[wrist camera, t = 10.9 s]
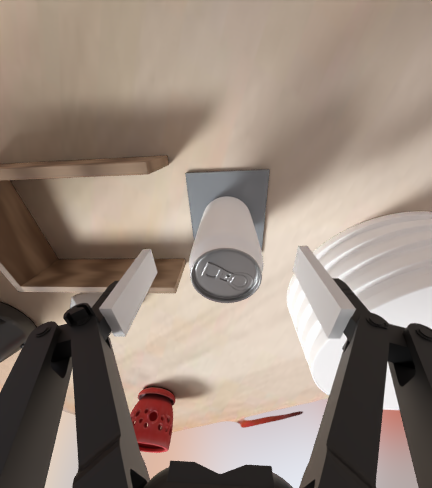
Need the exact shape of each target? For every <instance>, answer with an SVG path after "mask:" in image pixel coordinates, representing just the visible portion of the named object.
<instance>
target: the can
mask: <svg viewBox="0 0 432 488" xmlns="http://www.w3.org/2000/svg"><path fill="white" fill-rule="evenodd" d="M189 267H190V271H191V272H190V278H191V282H192V284H193V286H194V288H195V289H196V290H197V292H198V293H200V294H201V295H202V296H204V297H205V298H207V299H209V300H212V301H215V302H221V303H233V302H238V301H242V300H244V299H246V298H248V297H250V296H251V295H252V294H254V293H255V292H256V290H257V289H258V288H259V286H260V283H261V279H262V271H263V256H262V252H261V248H260V245H259V241H258V238H257V234H256V231H255V227H254V224H253V221H252V217H251V214H250V211H249V209H248V207H247V206H246V205H245V204H244V203H243V202H242V201H241V200H239V199H237V198H234V197H230V196H224V197H219V198H217V199H215V200H213V201H212V202H210V203H209V204H208V206H207V207H206V209H205V211H204V213H203V216H202V219H201V222H200V225H199V228H198V231H197V234H196V237H195V241H194V244H193V247H192V250H191V254H190V259H189Z"/></svg>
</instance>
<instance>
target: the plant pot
mask: <svg viewBox="0 0 432 488" xmlns="http://www.w3.org/2000/svg"><path fill="white" fill-rule="evenodd" d="M138 399H139V401H138V403H137V404H136V405H135V407H134V409H133V410H132V412H131V414H130V416H131V420H132V424H133V427H134V431H135V435H136V439H137V442H138V446H139V450H140V451H144V452H154V453H160V452H166V451H168V449H169V445H170V439H171V434H172V426H173V409H172V405H174V403H175V397H174V395H173V394H172V393H171V392H170V391H168V390H165V389H162V388H157V387H151V388H146V389H144V390H142V391H141V392H140V393H139V395H138ZM135 421H136V422H135ZM134 422H135V424H134ZM147 423H148V427H147ZM161 426H162V428H161Z"/></svg>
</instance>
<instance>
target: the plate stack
mask: <svg viewBox="0 0 432 488" xmlns="http://www.w3.org/2000/svg"><path fill="white" fill-rule="evenodd" d="M312 253H313V254H314V255H315V256H316V258H317V259H318V260H319V262H320V263H321V264H322V266H323V267H324V268H325V269H326V271H327V272H328V273H329V275H330V276H331V277H332V278H339V279H340V280H342V281H343V282H345V283H346V284H347V285H348V286H349V288H350V289H351V290H352V291H353V292H354V294H355V295H356V296H357V297H358V298H359V300H360V301H361V302H362V303H363V304H364V305H365V307H366V308H367V309H368V310H369V311H370V312H371V313H374V314H377V315H379V316H380V317H382V318H383V319H385V320H386V321H387V322H388V323H389V324H392V325H396V326H400V327H404V328H407V326H408V325H409V324H410V323H418V324H422V325H424V326H427V327H429V328H431V329H432V212H428V211H412V212H402V213H395V214H390V215H385V216H381V217H377V218H374V219H371V220H368V221H365V222H362V223H360V224H357V225H355V226H352V227H350V228H348V229H346V230H344V231H342V232H340V233H339V234H337V235H335V236H333V237H332V238H330V239H329V240H327V241H326V242H324V243H323V244H322V245H320V246H319V247H318V248H316V249H315V250H314V251H313V252H312ZM287 305H288V309H289V312H290V315H291V317H292V320H293V323H294V326H295V329H296V331H297V335H298V337H299V340H300V343H301V345H302V348H303V352H304V354H305V357H306V360H307V362H308V364H309V369H310V372H311V374H312V377H313V380H314V382H315V383H316V385H317V386H318V387H319V388H320V389H321V390H322V391H323V392H324V393H326V394H327V395H330V392H331V389H332V385H333V382H334V379H335V375H336V372H337V369H338V365H339V362H340V359H341V356H342V352H343V349H342V348H343V346H344V344H345V342H346V340H347V337H346V336H345V334H344V333H343V335H342V337H341V339H328V338H327V336H326V334H325V332H324V330H323V328H322V326H321V324H320V323H319V321H318V319H317V317H316V315H315V313H314V311H313V309H312V307H311V305H310V303H309V301H308V299H307V297H306V295H305V293H304V292H303V290H302V288H301V286H300V284H299V282H298V280H297V278H296V276H295V274H294V275H293V277H292V279H291V281H290V283H289V286H288V291H287ZM383 409H387V410H400V409H399V405H398V401H397V397H396V393H395V389H394V385H393V381H392V377H391V373H390V369H389V364H388V362H387V372H386V382H385V393H384V403H383Z"/></svg>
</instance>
